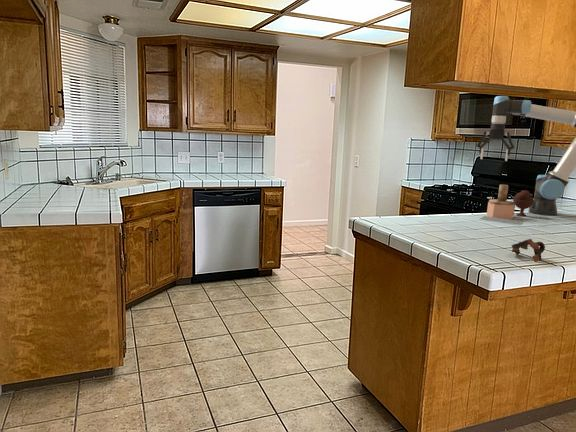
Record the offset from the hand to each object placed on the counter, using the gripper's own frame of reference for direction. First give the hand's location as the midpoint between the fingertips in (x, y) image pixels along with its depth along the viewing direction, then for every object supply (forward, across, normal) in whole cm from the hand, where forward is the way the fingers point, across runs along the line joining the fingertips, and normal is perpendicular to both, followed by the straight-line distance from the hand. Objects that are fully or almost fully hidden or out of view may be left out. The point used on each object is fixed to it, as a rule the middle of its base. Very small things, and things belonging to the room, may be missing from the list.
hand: (493, 160), depth 265 cm
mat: (+31, +13, -31) cm, 46 cm away
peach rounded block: (+23, +10, -18) cm, 31 cm away
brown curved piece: (+31, +34, -107) cm, 116 cm away
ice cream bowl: (+31, +19, -2) cm, 36 cm away
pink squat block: (+31, +10, -18) cm, 37 cm away
